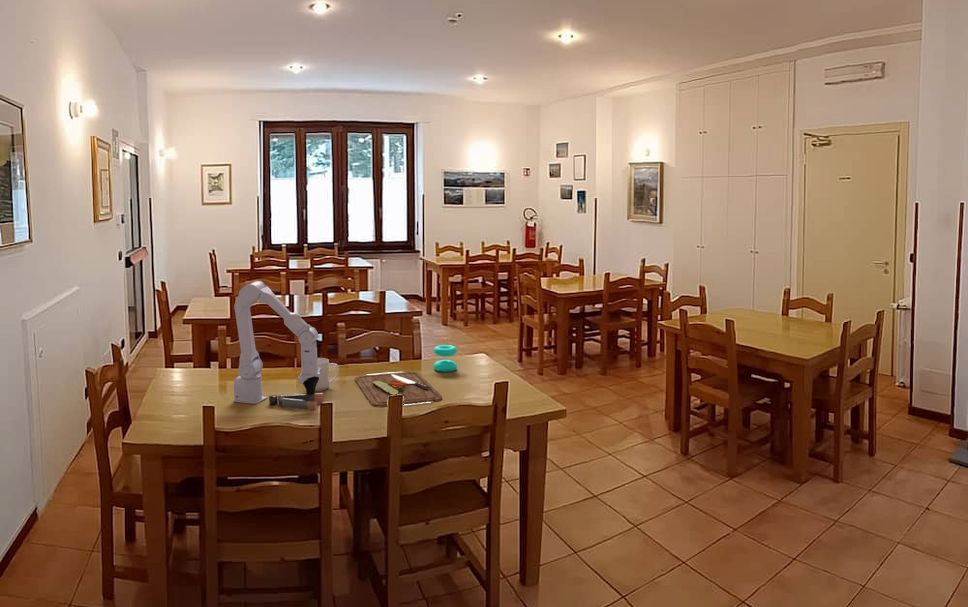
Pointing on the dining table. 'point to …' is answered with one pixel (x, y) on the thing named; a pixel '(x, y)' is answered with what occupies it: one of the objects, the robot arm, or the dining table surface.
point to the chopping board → (397, 388)
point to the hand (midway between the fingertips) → (310, 396)
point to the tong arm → (302, 397)
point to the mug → (324, 374)
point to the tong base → (293, 403)
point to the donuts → (445, 351)
